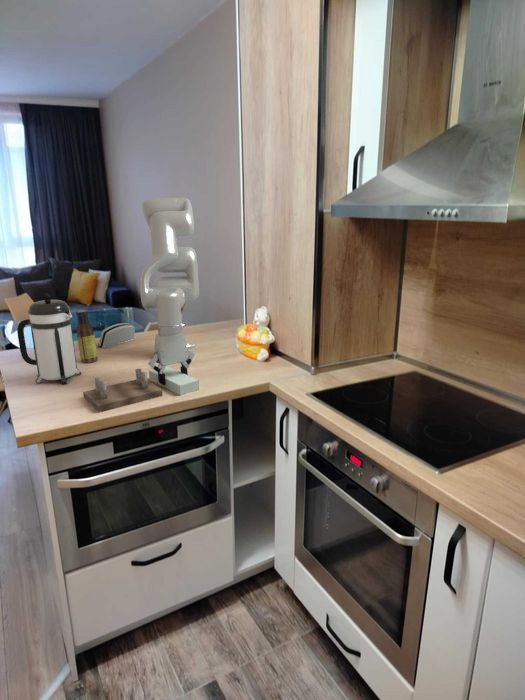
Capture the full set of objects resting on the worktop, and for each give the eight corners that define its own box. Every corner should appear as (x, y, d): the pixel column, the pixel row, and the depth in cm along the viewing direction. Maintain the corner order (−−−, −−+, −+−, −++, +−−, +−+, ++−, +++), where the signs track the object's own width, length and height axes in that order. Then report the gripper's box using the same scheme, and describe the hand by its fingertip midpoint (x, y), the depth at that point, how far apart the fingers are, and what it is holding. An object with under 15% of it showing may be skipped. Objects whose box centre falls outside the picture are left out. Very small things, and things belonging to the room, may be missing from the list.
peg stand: (144, 383, 157) (142, 363, 155) (162, 395, 146) (160, 374, 144) (83, 397, 145) (81, 376, 143) (99, 412, 135) (96, 389, 133)
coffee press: (76, 368, 173) (65, 287, 164) (86, 381, 160) (75, 294, 151) (24, 377, 164) (10, 292, 155) (30, 391, 151) (15, 300, 142)
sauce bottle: (101, 358, 183) (95, 309, 178) (92, 363, 177) (86, 312, 172) (85, 358, 184) (79, 308, 179) (77, 363, 178) (70, 312, 173)
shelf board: (149, 379, 161) (148, 370, 160) (167, 375, 165) (166, 365, 164) (180, 396, 146) (180, 385, 145) (199, 390, 151) (198, 380, 150)
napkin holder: (127, 338, 213) (130, 318, 208) (134, 342, 211) (137, 323, 206) (96, 346, 200) (98, 326, 195) (103, 352, 198) (106, 331, 193)
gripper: (188, 323, 158) (191, 373, 163) (139, 331, 148) (144, 384, 153) (199, 327, 152) (201, 378, 157) (149, 336, 142) (154, 390, 147)
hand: (173, 381), depth 155 cm, fingers closed on shelf board, 7 cm apart
